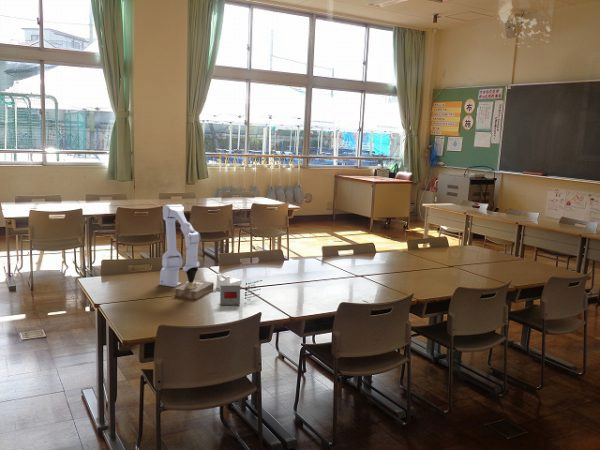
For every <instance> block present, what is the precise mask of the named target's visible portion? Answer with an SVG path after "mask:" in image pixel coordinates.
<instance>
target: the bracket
mask: <svg viewBox="0 0 600 450" xmlns="http://www.w3.org/2000/svg"><path fill="white" fill-rule="evenodd" d="M220 285H240V286H241V285H242V279H239V278H236V277H235V278H234V277H231V276H230V275H227V276H225V278H223V276H222V273H218V274H216V286H215V288H216V287H217V288H216V289H220Z"/></svg>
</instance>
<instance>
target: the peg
mask: <svg viewBox="0 0 600 450" xmlns="http://www.w3.org/2000/svg"><path fill="white" fill-rule="evenodd" d="M185 284H186V285H185V288H186V289H192V290H193V289H195V288H196V282H194V281H193V282H189V281H185Z"/></svg>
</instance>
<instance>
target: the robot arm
mask: <svg viewBox="0 0 600 450" xmlns="http://www.w3.org/2000/svg"><path fill="white" fill-rule="evenodd" d="M184 213H185V209H184V206H183V204H181V203H180V204H164V206H163V207H162V219H163V220H164V222H165V235H166V249H167V251H165V252H164V253H163V254H162V260H161V266H162V268H161V269H160V273H159V283H158V285H160V286H166V287H173V288H174V287H178V286H179V285H182V282H179V277H180V276H179V274H180V273H179V270H180V269H181V267H182V266H183V258H182V254H181V253H180V252H179V250H177V249H178V248H177V234H176V232H177V231H176V221H177V222H178V223H179V224H180V230H181V232H182V234H183V236H184V242H185V248H186V253H185V254H186V256H185V265H184V266H183V268H182V272H185V273H186V277H187V280H188V281H189V282H193V281H194V280H195V277H196V274H197V272H198V270H199V267H200V263H201V262H200V261H198V259H199V257H198V256H199V244H200V243H201V238H202V237H201V234H200V232H199V231H196V230H195V229H194V227H193V226H192V224H191V222H189V221H187V218H186V216H185V214H184ZM188 281H187V282H188Z"/></svg>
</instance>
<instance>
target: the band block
mask: <svg viewBox="0 0 600 450" xmlns="http://www.w3.org/2000/svg"><path fill="white" fill-rule="evenodd" d="M194 282H202V283H204V284H202V285H199V284H196V288H195V289H193V290H192V289H186V288H185V285H186V283H183V284H181V285H180V286H177V287H176V288H175V289H174V290H175V291H174V293H175V294H174V295H175V297H178V298H185V299H189V300H199V299H200V298H202V297H203V296H205V295H207V294H208V293H210V292H212V291H214V286H215V285H214V282H212V281H206V280H205V281H204V280H199V279H194Z"/></svg>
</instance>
